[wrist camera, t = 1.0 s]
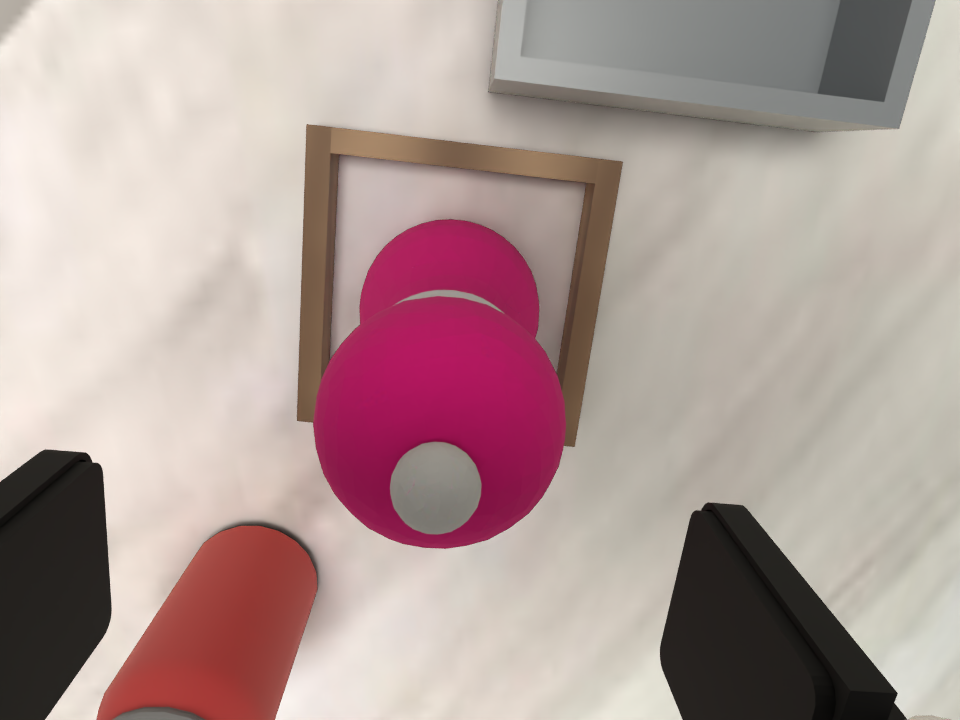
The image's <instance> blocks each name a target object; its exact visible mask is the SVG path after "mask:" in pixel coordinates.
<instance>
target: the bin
mask: <svg viewBox="0 0 960 720" xmlns="http://www.w3.org/2000/svg"><path fill="white" fill-rule="evenodd" d="M935 1H936V0H498V6H497V16H496V25H495V34H494V43H493V53H492V62H491V71H490V80H489V90H488V92H494V93H502V94H511V95H519V96H527V97H535V98H543V99H551V100H559V101H568V102H576V103H584V104H592V105H600V106H608V107H617V108H625V109H633V110H641V111H649V112H657V113H665V114H674V115H682V116H690V117H698V118H706V119H714V120H722V121H731V122H739V123H747V124H755V125H763V126H771V127H779V128H788V129H796V130H804V131H812V132H833V131H856V130H879V129H899V127H900V124H901V120H902V117H903V113H904V110H905V106H906V103H907V99H908V96H909V92H910V89H911V85H912V81H913V78H914V74H915V71H916V67H917V64H918V60H919V57H920V53H921V50H922V46H923V43H924V39H925V36H926V32H927V29H928V25H929V22H930V18H931V15H932V11H933V8H934V4H935Z"/></svg>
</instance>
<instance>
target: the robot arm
mask: <svg viewBox="0 0 960 720" xmlns="http://www.w3.org/2000/svg"><path fill="white" fill-rule="evenodd" d="M110 619H111V592H110V576H109V561H108V545H107V529H106V513H105V498H104V482H103V471H102V468H101V465H100V464H98V463H92V460H91V458H90V456H89V455H88V454H87V453H83V452H71V451H58V450H43V451H41V452H39V453H38V454H37V455H35V456H34V457H33V458H31V459H30V460H29V461H27V462H26V463H25V464H23V465H22V466H21V467H19V468H18V469H17V470H15V471H14V472H13V473H11V474H10V475H9V476H7V477H6V478H5V479H3V480H2V481H1V482H0V720H45V719H46V718H47V716H48V715H49V713H50V712H51V710H52V709H53V708H54V706H55V705H56V703H57V702H58V700H59V699H60V698H61V696H62V695H63V693H64V692H65V691H66V689H67V688H68V686H69V685H70V683H71V682H72V681H73V679H74V678H75V676H76V675H77V674H78V672H79V671H80V669H81V668H82V666H83V665H84V664H85V662H86V661H87V659H88V658H89V657H90V655H91V654H92V652H93V651H94V649H95V648H96V647H97V645H98V644H99V642H100V641H101V639H102V638H103V637H104V635H105V633H106V631H107V629H108V626H109V623H110ZM660 660H661V666H662V669H663V672H664V675H665V677H666V679H667V682H668V684H669V687H670V689H671V692H672V694H673V697H674V699H675V702H676V704H677V707H678V709H679V711H680V714H681V716H682V719H683V720H950V719H945V718H941V717H936V716H932V715H931V716H914V717H911V718H909V719H907V718H906V717H905V716H904V715H903V713H902V712H901V711H900V710H899V708H898V707H897V706H896V705H895V703H894V702H895V699H896V696H897V694H898V693H897V692H896V691H895V690H894V688H893V687H892V686H891V685H890V683H889V682H888V681H887V680H886V679H885V677H884V676H883V675H882V674H881V672H880V671H879V670H878V669H877V668H876V666H875V665H874V664H873V663H872V661H871V660H870V659H869V658H868V656H867V655H866V654H865V653H864V652H863V650H862V649H861V648H860V647H859V645H858V644H857V643H856V642H855V641H854V639H853V638H852V637H851V636H850V634H849V633H848V632H847V631H846V630H845V628H844V627H843V626H842V625H841V623H840V622H839V621H838V620H837V619H836V617H835V616H834V615H833V614H832V612H831V611H830V610H829V609H828V608H827V606H826V605H825V604H824V603H823V601H822V600H821V599H820V598H819V597H818V595H817V594H816V593H815V592H814V590H813V589H812V588H811V587H810V586H809V584H808V583H807V582H806V581H805V579H804V578H803V577H802V576H801V575H800V573H799V572H798V571H797V570H796V568H795V567H794V566H793V565H792V563H791V562H790V561H789V560H788V559H787V557H786V556H785V555H784V554H783V552H782V551H781V550H780V549H779V548H778V546H777V545H776V544H775V543H774V541H773V540H772V539H771V538H770V537H769V535H768V534H767V533H766V532H765V530H764V529H763V528H762V527H761V526H760V524H759V523H758V522H757V521H756V519H755V518H754V517H753V516H752V515H751V513H750V512H749V511H748V510H747V508H745V507H744V506H743V505H733V504H720V503H706V504H705V505H704V506H703V508H702V510H701V511H698V510H696V511H694V512H693V513H692V515H691V518H690V522H689V526H688V530H687V534H686V539H685V543H684V547H683V551H682V556H681V560H680V564H679V568H678V573H677V577H676V581H675V586H674V590H673V594H672V598H671V603H670V607H669V611H668V615H667V620H666V624H665V628H664V632H663V637H662V641H661V646H660Z"/></svg>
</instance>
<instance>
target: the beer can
mask: <svg viewBox="0 0 960 720" xmlns="http://www.w3.org/2000/svg"><path fill="white" fill-rule="evenodd" d="M316 592H317V576H316V571H315V568H314V566H313V564H312V562H311V559H310V557H309V555H308V554H307V553H306V552H305V550H304V549H303V548H302V547H301V546H300V545H299V544H298V543H297V542H296V541H295V540H293V539H291V538H290V537H288V536H286V535H285V534H283V533H281V532H280V531H277V530H273V529H270V528H266V527H262V526H238V527H235V528H231V529H228V530H224V531H221V532H219V533H218V534H216V535H215V536H213V537H212V538H210V539H209V540H207V541H206V542H204V544H203V545H202V546H201V548H200V549H199V551H198V552H197V553H196V555H195V556H194V558H193V559H192V561H191V562H190V564H189V565H188V567H187V568H186V570H185V571H184V573H183V575H182V576H181V578H180V579H179V581H178V582H177V584H176V585H175V587H174V588H173V590H172V591H171V593H170V594H169V596H168V597H167V599H166V600H165V602H164V603H163V605H162V607H161V608H160V610H159V611H158V613H157V614H156V616H155V617H154V619H153V620H152V622H151V623H150V625H149V626H148V628H147V629H146V631H145V632H144V634H143V635H142V637H141V639H140V640H139V642H138V643H137V645H136V646H135V648H134V649H133V651H132V652H131V654H130V655H129V657H128V658H127V660H126V661H125V663H124V664H123V666H122V667H121V669H120V670H119V672H118V674H117V675H116V677H115V678H114V680H113V681H112V683H111V684H110V686H109V687H108V689H107V690H106V692H105V693H104V696H103V699H102V702H101V705H100V707H99V710H98V715H97V720H275V717H276V714H277V711H278V708H279V705H280V702H281V699H282V696H283V693H284V690H285V687H286V684H287V681H288V678H289V675H290V672H291V669H292V666H293V663H294V660H295V657H296V654H297V651H298V648H299V645H300V641H301V638H302V635H303V632H304V629H305V626H306V623H307V620H308V617H309V614H310V611H311V608H312V605H313V602H314V599H315V595H316Z"/></svg>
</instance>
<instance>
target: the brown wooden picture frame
mask: <svg viewBox="0 0 960 720" xmlns="http://www.w3.org/2000/svg"><path fill="white" fill-rule="evenodd" d="M339 154H343V155H352V156H361V157H369V158H378V159H387V160H395V161H404V162H412V163H421V164H430V165H438V166H447V167H456V168H464V169H473V170H481V171H490V172H499V173H507V174H516V175H525V176H533V177H542V178H550V179H559V180H568V181H576V182H585V183H586V189H585V196H584V202H583V209H582V215H581V222H580V228H579V234H578V241H577V247H576V254H575V260H574V267H573V273H572V280H571V286H570V293H569V299H568V305H567V312H566V318H565V325H564V331H563V338H562V344H561V351H560V357H559V363H558V370H557V376H558V379H559V383H560V386H561V390H562V394H563V398H564V403H565V418H566V432H565V442H564V446H571V447H575V441H576V435H577V429H578V424H579V418H580V412H581V406H582V400H583V394H584V388H585V382H586V376H587V370H588V364H589V359H590V353H591V347H592V341H593V335H594V329H595V323H596V317H597V311H598V305H599V299H600V294H601V288H602V282H603V276H604V270H605V264H606V258H607V252H608V246H609V240H610V234H611V229H612V223H613V217H614V211H615V205H616V199H617V193H618V187H619V181H620V175H621V170H622V164H623V162H621V161H613V160H604V159H596V158H587V157H579V156H571V155H562V154H554V153H545V152H537V151H528V150H520V149H511V148H503V147H494V146H486V145H477V144H469V143H461V142H452V141H444V140H435V139H427V138H418V137H410V136H401V135H393V134H384V133H376V132H367V131H359V130H351V129H342V128H334V127H325V126H317V125H308V124H307V126H306V157H305V188H304V219H303V250H302V280H301V311H300V342H299V373H298V404H297V421H303V422H313V420H314V413H315V405H316V397H317V393H318V390H319V386H320V383H321V379H322V377H323V374H324V372H325V370H326V368H327V366H328V363H329V357H330V335H331V314H332V293H333V271H334V250H335V229H336V207H337V186H338V164H339Z"/></svg>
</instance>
